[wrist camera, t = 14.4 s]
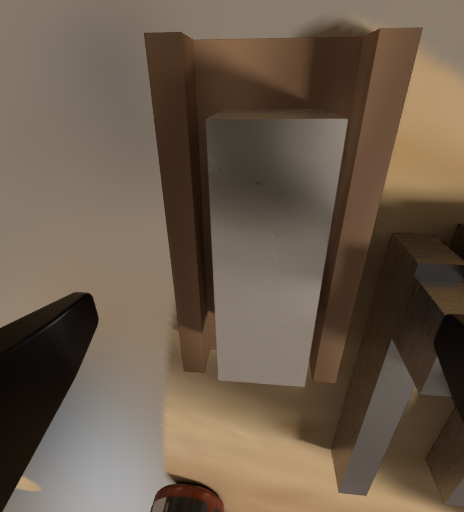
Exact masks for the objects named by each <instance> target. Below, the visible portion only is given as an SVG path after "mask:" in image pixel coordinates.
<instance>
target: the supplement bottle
mask: <svg viewBox="0 0 464 512" xmlns="http://www.w3.org/2000/svg"><path fill="white" fill-rule="evenodd" d="M151 512H224V505H223V502H222V500H221V499H220V498H219V497H218V496H217V495H216V494H214V493H213V492H211V491H210V490H208V489H206V488H204V487H201V486H197V485H191V484H172V485H168V486H165V487H163V488H162V489H160V490H159V491H158V492H157V494H156V496H155V499H154V502H153V505H152V507H151Z"/></svg>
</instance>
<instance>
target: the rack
mask: <svg viewBox="0 0 464 512" xmlns="http://www.w3.org/2000/svg"><path fill="white" fill-rule="evenodd" d="M422 29H423V28H380V29H378V30H376V31H374V32H372V33H370V34H368V35H366V36H364V37H328V38H276V39H275V38H271V39H270V38H269V39H214V40H213V39H212V40H193V39H191V38H190V37H188V36H186V35H184V34H183V33H182V32H165V33H144V37H145V46H146V54H147V63H148V71H149V79H150V87H151V96H152V105H153V113H154V122H155V131H156V139H157V147H158V156H159V165H160V173H161V181H162V189H163V198H164V206H165V215H166V224H167V232H168V240H169V249H170V258H171V266H172V275H173V283H174V292H175V300H176V309H177V317H178V326H179V334H180V343H181V351H182V360H183V368H184V371H188V372H200V373H205V369H206V364H207V360H208V355H209V350H210V349H217V343H216V322H215V302H214V281H213V260H212V239H211V218H210V197H209V176H208V156H207V135H206V119H207V118H209V117H210V116H212V115H214V114H216V113H218V112H220V111H221V110H223V109H325V110H328V111H330V112H333V113H335V114H338V115H340V116H342V117H345V118H347V119H348V123H347V129H346V135H345V142H344V148H343V154H342V160H341V166H340V172H339V179H338V185H337V191H336V197H335V203H334V209H333V216H332V222H331V228H330V234H329V240H328V246H327V253H326V259H325V265H324V271H323V277H322V283H321V290H320V296H319V302H318V308H317V314H316V320H315V327H314V333H313V339H312V345H311V351H310V357H309V360H310V367H311V373H312V379H313V382H324V383H336V379H337V374H338V370H339V366H340V362H341V358H342V354H343V350H344V346H345V342H346V338H347V334H348V330H349V326H350V322H351V318H352V314H353V309H354V305H355V301H356V297H357V293H358V289H359V285H360V281H361V277H362V273H363V269H364V265H365V261H366V257H367V253H368V249H369V244H370V240H371V236H372V232H373V228H374V224H375V220H376V216H377V212H378V208H379V204H380V200H381V196H382V192H383V188H384V184H385V179H386V175H387V171H388V167H389V163H390V159H391V155H392V151H393V147H394V143H395V139H396V135H397V131H398V127H399V123H400V119H401V114H402V110H403V106H404V102H405V98H406V94H407V90H408V86H409V82H410V78H411V74H412V70H413V66H414V62H415V58H416V54H417V49H418V45H419V41H420V37H421V33H422Z"/></svg>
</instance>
